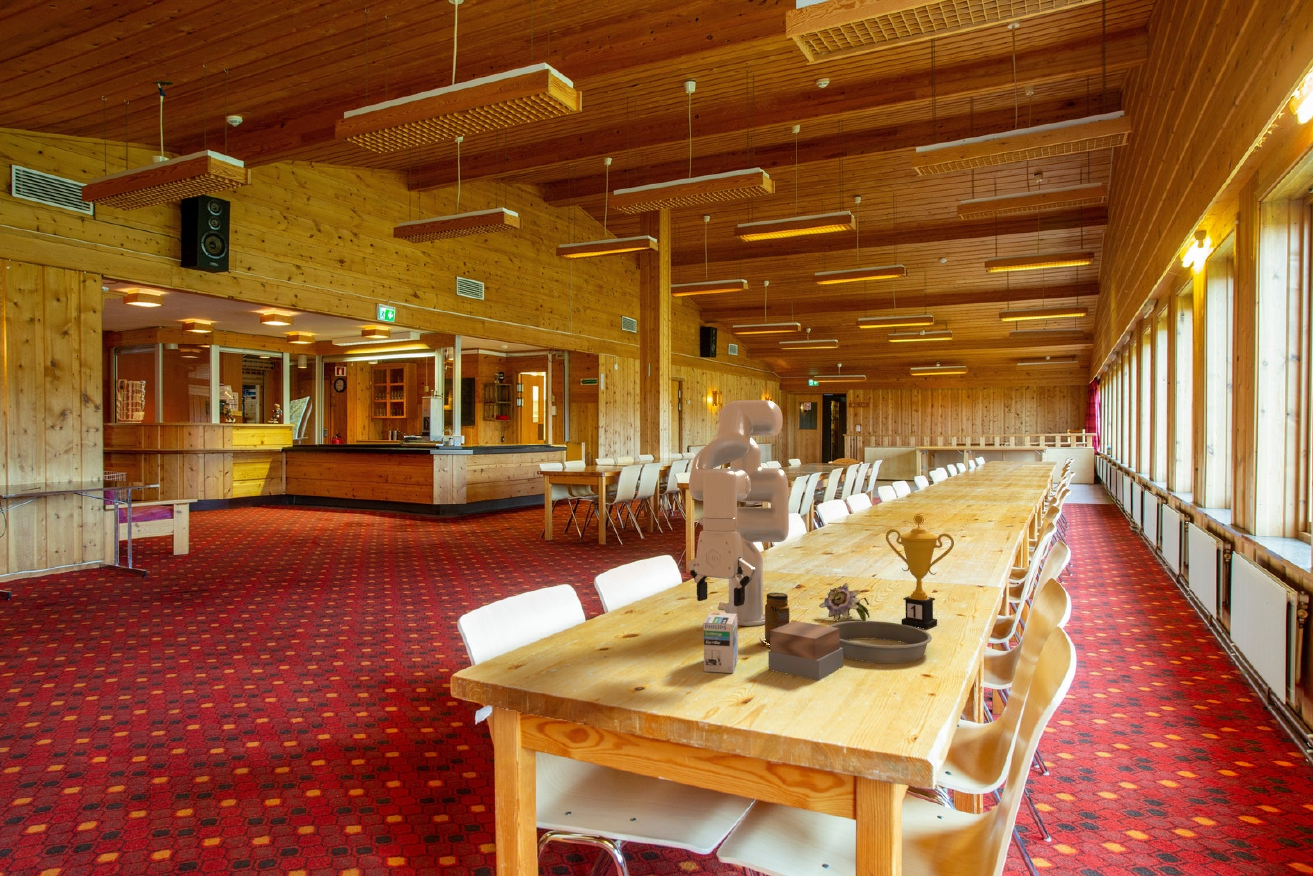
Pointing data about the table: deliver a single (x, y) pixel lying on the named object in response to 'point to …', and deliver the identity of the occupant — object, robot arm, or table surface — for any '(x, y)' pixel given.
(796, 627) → the walnut block
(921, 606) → the trophy
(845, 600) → the passion flower
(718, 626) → the light bulb box
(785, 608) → the condiment
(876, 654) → the cake pan
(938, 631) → the table surface
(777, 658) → the grey block
